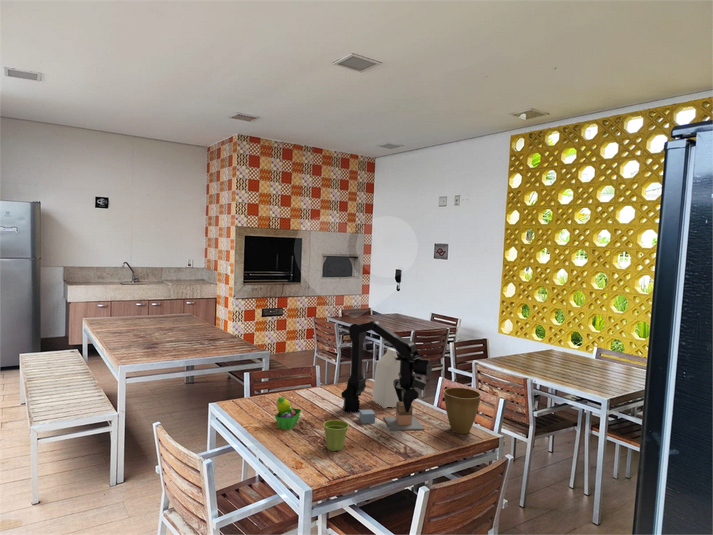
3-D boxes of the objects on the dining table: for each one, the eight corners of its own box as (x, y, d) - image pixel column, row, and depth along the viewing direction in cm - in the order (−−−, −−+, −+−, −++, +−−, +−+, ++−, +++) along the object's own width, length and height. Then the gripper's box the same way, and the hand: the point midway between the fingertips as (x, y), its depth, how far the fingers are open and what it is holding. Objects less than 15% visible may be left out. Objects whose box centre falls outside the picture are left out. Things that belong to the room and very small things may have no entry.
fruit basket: (292, 431, 186) (293, 402, 185) (270, 428, 188) (272, 400, 187) (301, 421, 197) (302, 394, 197) (281, 418, 199) (282, 392, 198)
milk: (372, 400, 230) (375, 347, 229) (393, 398, 235) (396, 346, 234) (384, 408, 219) (387, 352, 218) (405, 406, 224) (408, 351, 223)
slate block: (362, 423, 198) (362, 414, 198) (359, 419, 204) (359, 409, 204) (374, 423, 200) (375, 413, 200) (371, 418, 205) (371, 409, 205)
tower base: (391, 430, 192) (391, 419, 192) (383, 418, 206) (384, 407, 206) (424, 430, 195) (425, 419, 194) (414, 417, 208) (415, 407, 208)
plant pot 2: (448, 421, 206) (451, 385, 206) (482, 429, 199) (485, 392, 198) (436, 431, 194) (438, 393, 193) (472, 440, 186) (474, 400, 185)
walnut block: (412, 415, 198) (412, 405, 198) (399, 415, 197) (400, 405, 197) (408, 410, 203) (409, 401, 203) (396, 410, 202) (396, 401, 202)
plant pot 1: (316, 449, 170) (318, 425, 170) (330, 440, 179) (331, 417, 178) (339, 455, 166) (340, 431, 166) (352, 446, 174) (353, 423, 174)
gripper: (431, 378, 192) (429, 416, 192) (418, 366, 210) (416, 401, 211) (405, 377, 190) (402, 416, 190) (394, 366, 208) (391, 401, 209)
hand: (404, 408), depth 200 cm, fingers open, 9 cm apart
